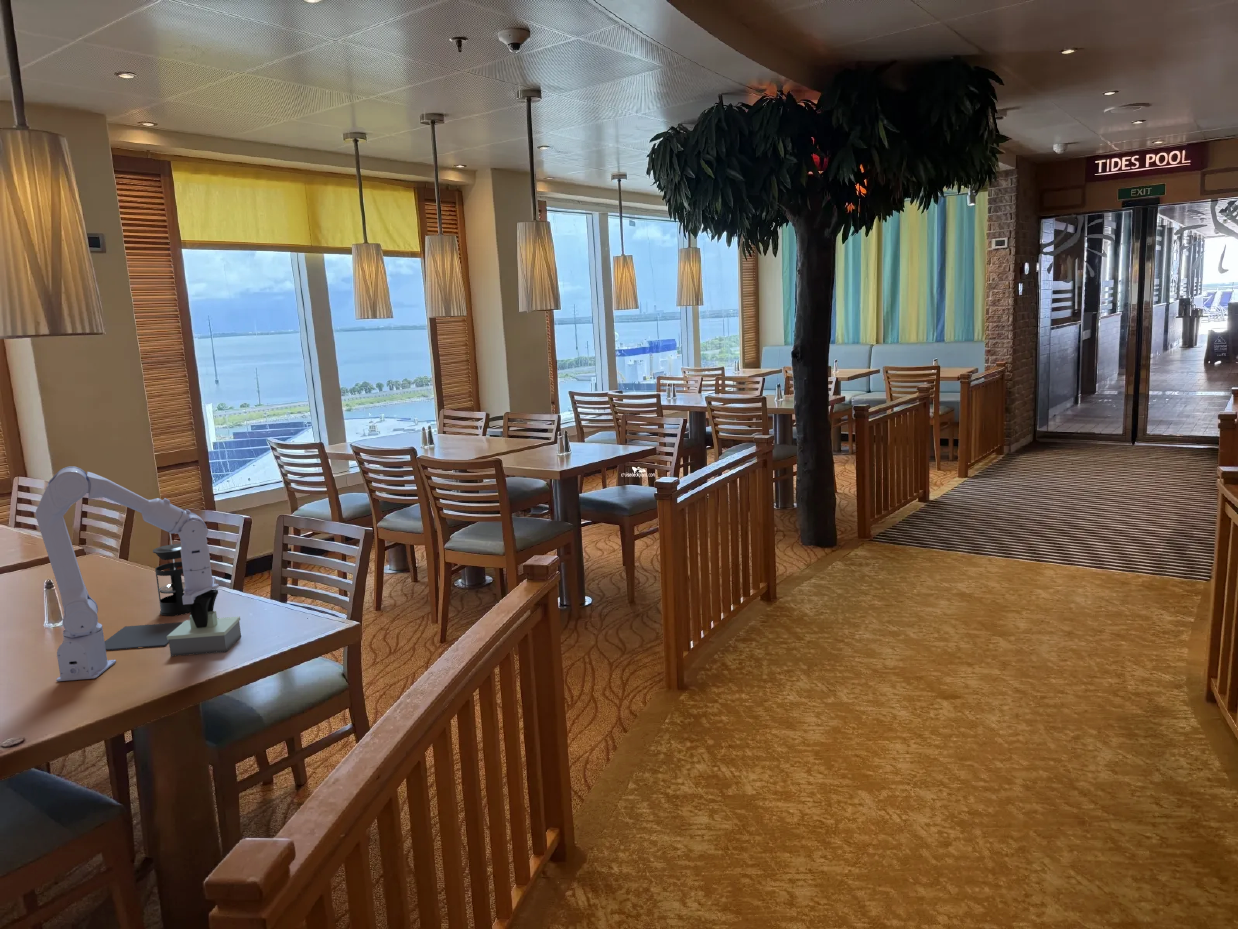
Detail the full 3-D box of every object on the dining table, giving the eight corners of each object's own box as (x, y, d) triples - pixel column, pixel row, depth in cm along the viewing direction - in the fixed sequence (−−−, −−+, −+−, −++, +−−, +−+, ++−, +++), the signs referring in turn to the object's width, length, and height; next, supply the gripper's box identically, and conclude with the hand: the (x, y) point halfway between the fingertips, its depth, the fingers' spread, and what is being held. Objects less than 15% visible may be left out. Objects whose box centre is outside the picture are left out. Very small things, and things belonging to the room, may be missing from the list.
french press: (159, 619, 218) (147, 531, 214) (155, 610, 225) (143, 525, 222) (209, 609, 224) (198, 523, 220) (204, 600, 232) (193, 518, 228)
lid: (225, 638, 192) (222, 619, 191) (167, 643, 191) (164, 623, 190) (240, 623, 202) (238, 604, 201) (186, 627, 201) (183, 608, 200)
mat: (165, 646, 198) (165, 644, 198) (92, 651, 196) (92, 650, 196) (192, 623, 214) (192, 621, 213) (125, 628, 212) (125, 626, 212)
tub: (226, 652, 192) (224, 635, 192) (170, 656, 191) (168, 639, 191) (241, 636, 202) (239, 620, 202) (188, 640, 201) (186, 624, 200)
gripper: (203, 575, 187) (210, 634, 189) (226, 557, 201) (233, 613, 203) (169, 577, 186) (177, 637, 189) (195, 560, 201) (202, 615, 203)
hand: (204, 624), depth 196 cm, fingers closed on lid, 2 cm apart
